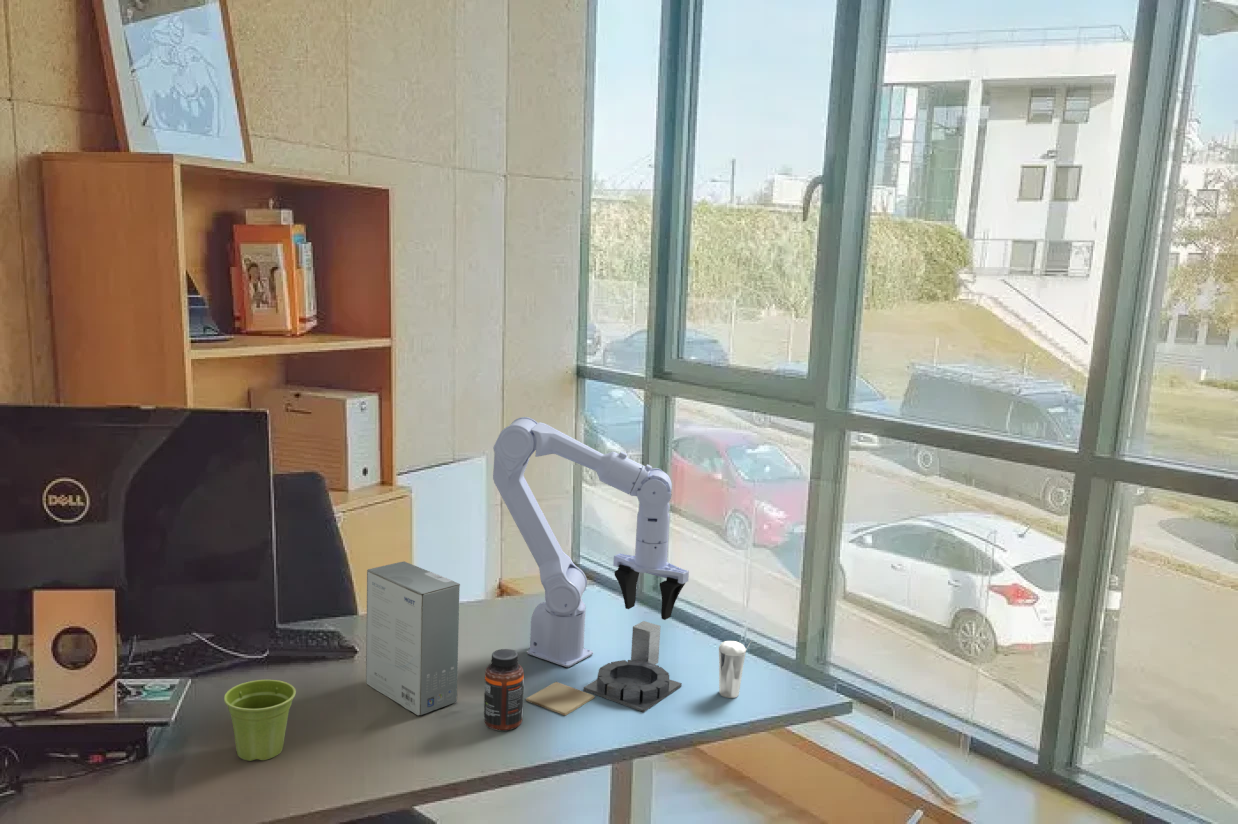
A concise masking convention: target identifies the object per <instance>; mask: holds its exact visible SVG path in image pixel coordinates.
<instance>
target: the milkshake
mask: <svg viewBox="0 0 1238 824" xmlns="http://www.w3.org/2000/svg"><path fill="white" fill-rule="evenodd" d="M752 641H753V640H752V639H751V640H750V642H749V644H748V645H747V647H745V645H744V644H743V643H741V642H739V641H736V640H724V641H723V642H721V643H720V645H719V646H718V664H719V665H718V667H719V668H718V672H719V673H718V676H719V677H718V679H719V680H718V686H719V687H718V688H719V690H718V691H719V695H720V696H722V697H723V698H727V699H734V698H737V697H739V695H740V690H741V682H742V676H743V669H744V664H745V659H746V658H745V657H746V654H747V653H746V652H747V650H748V649H749V647H750V644H751V643H752Z"/></svg>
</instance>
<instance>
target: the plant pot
mask: <svg viewBox="0 0 1238 824" xmlns="http://www.w3.org/2000/svg"><path fill="white" fill-rule="evenodd" d="M296 694H297V689H296V688H295V687H294V686H293V684H291V683H289V682H286V681H282V680H279V679H278V680H276V679H256V680H250V681H247V682H242V683H240V684H237V685H235V686H233V687H231V688H230V689H228V690H227V692H226V693H225V694H224V696H223V697H224V698H223V700H224V701H223V702H224V703H225V705H226V706H227V709H228V712H229V714H230V716H231V717H230V718H231V721H232V731H233V733H234V734H233V735H234V742H235V743H234V744H235V749H236V755H237V756H238V757H239V758H240V759H242V760H244V761H250V762H252V761H255V760H260V761H267V760H271V759H272V758H275V757H276V756H278V755H279V754H281V753H282V752H283V749H284V744H285V737H286V731H287V723H288V717H289V712H290V708H291V706H292V704H293V702H292V701H293V700H294V698H295V697H296Z"/></svg>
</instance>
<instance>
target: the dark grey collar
mask: <svg viewBox="0 0 1238 824" xmlns="http://www.w3.org/2000/svg"><path fill="white" fill-rule="evenodd" d="M682 687H683V686H682V683H681V682H678V681H676V680H672V679H670V673H669V672H668V671H667V670H666V669H664V668H663V667H662V666H659V665H657V664H652V663H649V662H644V663H643V661H636V660H631V659H628V660H625V659H622V660H616V661H611V662H607V663H606V664H603V666H601V667H599V668H598V672H597V679H594V680H593V681H591V682H589V683H588V684H586V685H585V686H583V690H582V691H583V692H586V693H589V694H592V695H594V696H598V697H601V698H602V699H603V698H604V699H605V700H606V699H607V700H609V701H612V702H615V703H617V704H620V705H623V706H625V707H628V708H631V709H634V710H637V711H639V712H642V713H645V712H647V711H648V710H650V709H651V708H653V707H655V706H656V705H657V704H659V703H660V702H661V701H662V700H664V699H666V698H667V697H668V696H670V695H672V694H673V693H674V692H676V691H677V690H679V689H680V688H682Z"/></svg>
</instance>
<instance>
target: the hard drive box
mask: <svg viewBox="0 0 1238 824" xmlns="http://www.w3.org/2000/svg"><path fill="white" fill-rule="evenodd" d="M460 587H461V584H460V583H459V582H456V581H454V580H451V579H449V578H447V577H444V576H442V575H440V574H437V573H434V572H433V571H430V570H426V569H425V568H421V567H419V566H417V565H415V564H411V563H410V562H407V561H404V560H403V561H397V562H396V563H391V564H386V565H382V566H376V567H372V568H368V569H367V570H366V636H365V637H366V641H365V642H366V648H365V649H366V651H365V653H366V655H365V656H366V658H365V661H366V663H365V666H366V667H365V678H366V679H365V681H366V682H365V683H366V685H367V686H370V688H372V689H374V690H375V691H377V692H379V693H380V694H382V695H384V696H386V697H387V698H389V699H391V700H392V701H394V702H395V703H397V704H398V705H400V706H402V707H403V708H405V709H406V710H407V711H410V712H411V713H413V714H415V715H417V716H420V715H421V716H422V715H425V714H428V713H431V712H433V711H436V710H439V709H440V708H441V709H442V708H444V707H446V706H449V705H452V704H454V703H457V702H458V699H457V698H458V672H459V671H458V666H459V665H458V663H459V662H458V661H459V660H458V659H459V624H460V622H459V621H460V619H459V617H460Z"/></svg>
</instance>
